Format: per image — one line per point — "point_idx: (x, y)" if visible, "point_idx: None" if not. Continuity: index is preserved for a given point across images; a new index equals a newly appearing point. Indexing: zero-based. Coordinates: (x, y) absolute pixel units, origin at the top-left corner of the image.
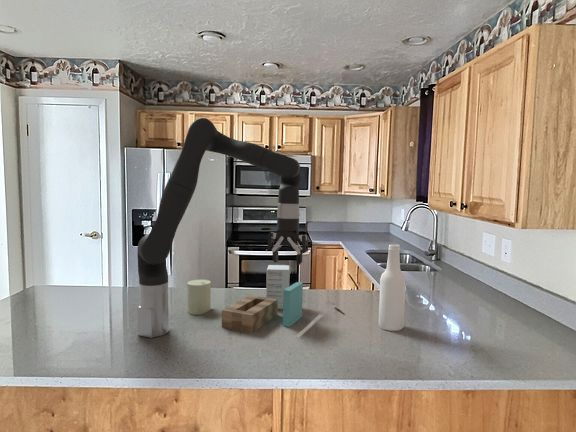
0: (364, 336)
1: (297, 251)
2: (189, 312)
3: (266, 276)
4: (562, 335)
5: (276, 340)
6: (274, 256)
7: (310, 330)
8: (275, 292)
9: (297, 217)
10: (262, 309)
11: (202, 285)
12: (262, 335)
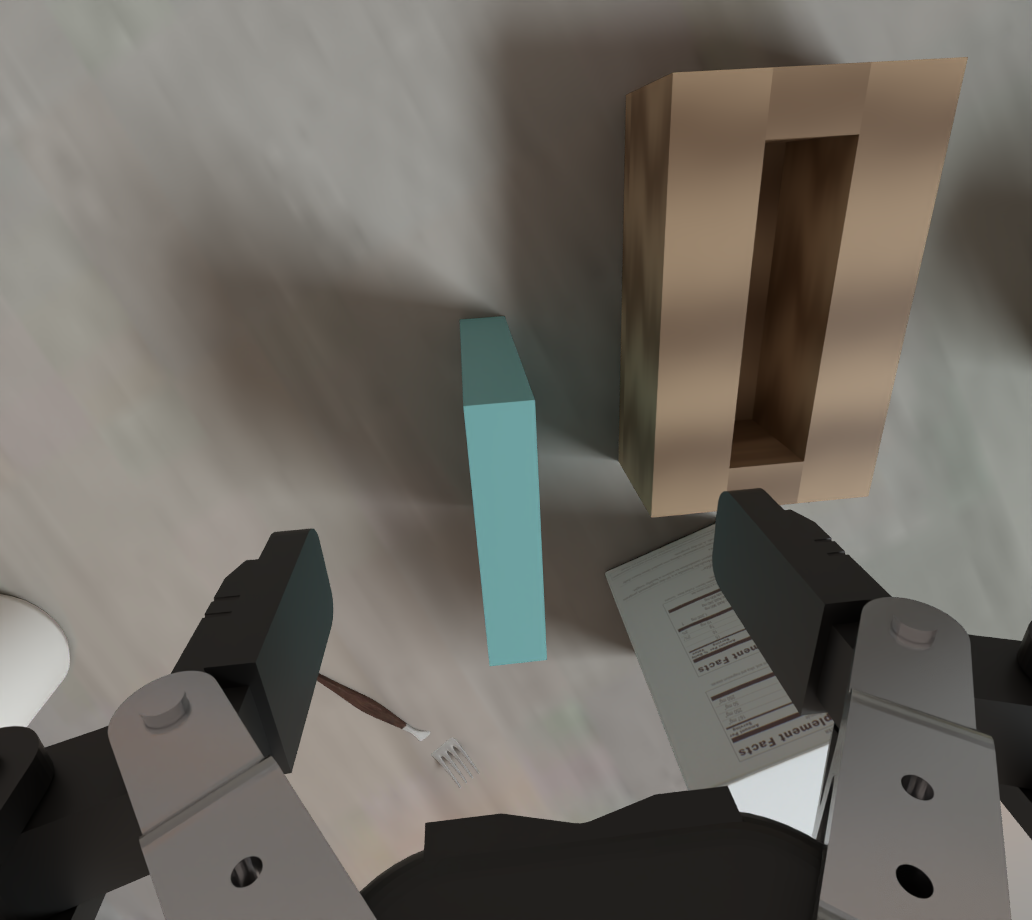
0: (31, 455)
1: (197, 725)
2: None
3: None
4: None
5: (440, 106)
6: (798, 542)
7: (344, 378)
8: (717, 610)
9: None
10: (661, 272)
11: None
12: (565, 139)
